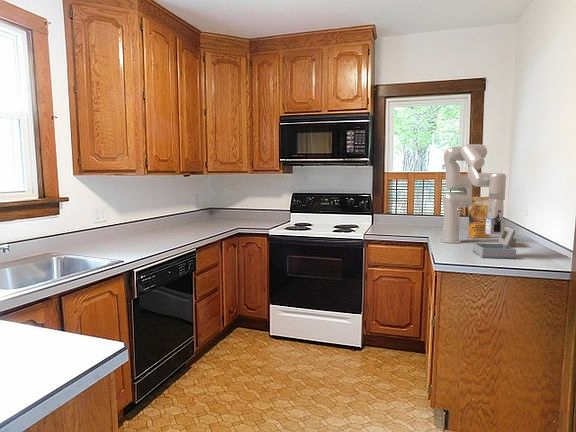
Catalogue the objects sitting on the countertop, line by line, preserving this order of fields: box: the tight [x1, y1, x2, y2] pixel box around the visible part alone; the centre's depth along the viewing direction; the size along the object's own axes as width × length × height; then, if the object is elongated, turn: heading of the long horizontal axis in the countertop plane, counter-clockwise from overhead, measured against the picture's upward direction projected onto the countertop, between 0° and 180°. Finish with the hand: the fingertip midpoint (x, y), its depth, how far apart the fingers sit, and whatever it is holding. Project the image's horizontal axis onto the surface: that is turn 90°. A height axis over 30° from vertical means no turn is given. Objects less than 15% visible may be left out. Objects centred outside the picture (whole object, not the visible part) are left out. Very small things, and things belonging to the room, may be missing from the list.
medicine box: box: [485, 217, 506, 236], centre depth 204 cm, size 8×4×9 cm, turn 96°
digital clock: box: [498, 226, 517, 248], centre depth 235 cm, size 16×9×11 cm, turn 153°
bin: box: [472, 242, 517, 260], centre depth 206 cm, size 16×16×5 cm
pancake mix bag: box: [467, 196, 491, 239], centre depth 264 cm, size 7×19×28 cm, turn 97°
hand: (494, 230), depth 205 cm, fingers closed on medicine box, 5 cm apart
